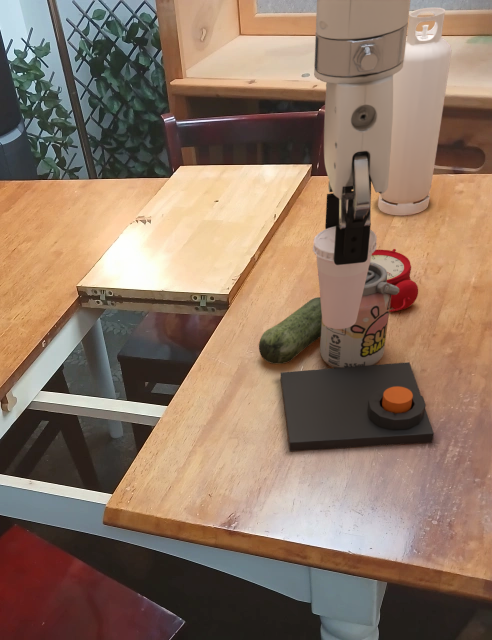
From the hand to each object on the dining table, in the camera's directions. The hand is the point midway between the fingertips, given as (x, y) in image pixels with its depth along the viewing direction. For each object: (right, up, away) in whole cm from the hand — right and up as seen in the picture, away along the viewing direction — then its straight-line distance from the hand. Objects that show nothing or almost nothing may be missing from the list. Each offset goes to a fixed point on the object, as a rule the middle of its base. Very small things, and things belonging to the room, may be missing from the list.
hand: (345, 244), depth 76 cm
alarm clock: (+14, +3, +30) cm, 34 cm away
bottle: (+25, +24, +48) cm, 60 cm away
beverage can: (+8, -7, +22) cm, 24 cm away
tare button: (+9, -15, +9) cm, 20 cm away
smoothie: (+1, -6, +7) cm, 9 cm away
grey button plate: (+5, -15, +14) cm, 21 cm away
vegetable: (+2, -5, +25) cm, 26 cm away
